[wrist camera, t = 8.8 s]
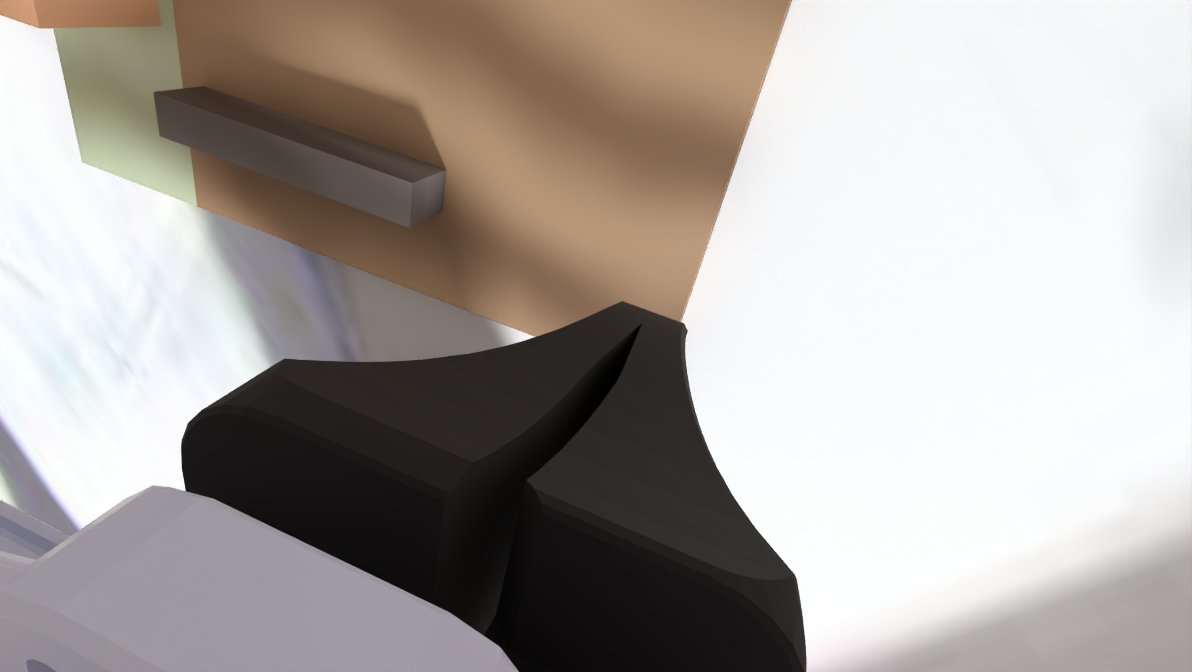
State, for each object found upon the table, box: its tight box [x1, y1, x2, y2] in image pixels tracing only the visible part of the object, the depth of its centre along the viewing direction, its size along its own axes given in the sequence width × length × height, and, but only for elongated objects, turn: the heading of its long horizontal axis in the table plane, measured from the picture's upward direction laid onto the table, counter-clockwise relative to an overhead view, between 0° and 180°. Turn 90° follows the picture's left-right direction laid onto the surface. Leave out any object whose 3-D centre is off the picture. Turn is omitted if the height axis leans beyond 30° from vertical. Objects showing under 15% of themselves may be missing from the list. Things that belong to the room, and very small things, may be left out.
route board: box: [53, 0, 792, 337], centre depth 19 cm, size 18×26×3 cm
